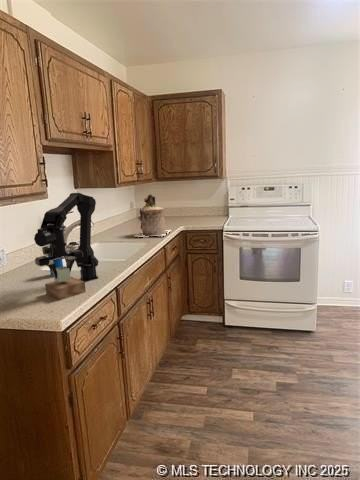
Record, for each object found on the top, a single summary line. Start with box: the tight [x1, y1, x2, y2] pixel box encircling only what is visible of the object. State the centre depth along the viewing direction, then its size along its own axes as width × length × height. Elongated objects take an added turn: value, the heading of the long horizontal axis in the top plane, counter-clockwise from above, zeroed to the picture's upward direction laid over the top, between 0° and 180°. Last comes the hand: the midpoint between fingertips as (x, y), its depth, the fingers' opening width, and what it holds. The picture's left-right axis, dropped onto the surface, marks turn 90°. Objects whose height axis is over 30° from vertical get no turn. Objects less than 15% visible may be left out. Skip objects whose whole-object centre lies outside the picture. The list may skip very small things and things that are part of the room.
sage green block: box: [53, 265, 72, 282], centre depth 149 cm, size 5×5×5 cm
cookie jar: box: [133, 193, 172, 238], centre depth 272 cm, size 25×25×32 cm
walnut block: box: [44, 276, 87, 301], centre depth 150 cm, size 12×12×5 cm
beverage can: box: [47, 255, 64, 277], centre depth 178 cm, size 6×6×12 cm
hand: (62, 277), depth 149 cm, fingers closed on sage green block, 5 cm apart
